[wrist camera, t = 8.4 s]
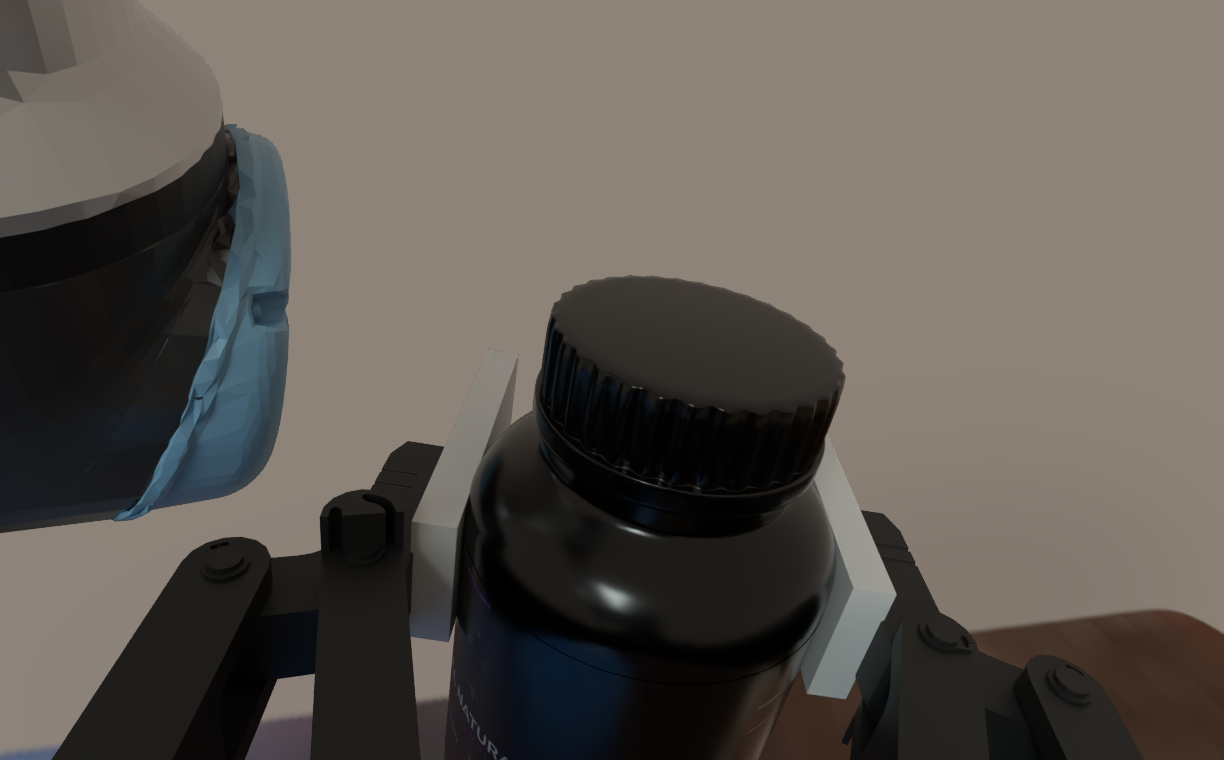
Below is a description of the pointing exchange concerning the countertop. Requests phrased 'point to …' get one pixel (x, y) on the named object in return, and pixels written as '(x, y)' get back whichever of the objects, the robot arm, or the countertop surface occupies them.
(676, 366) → the supplement bottle
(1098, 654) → the countertop surface
